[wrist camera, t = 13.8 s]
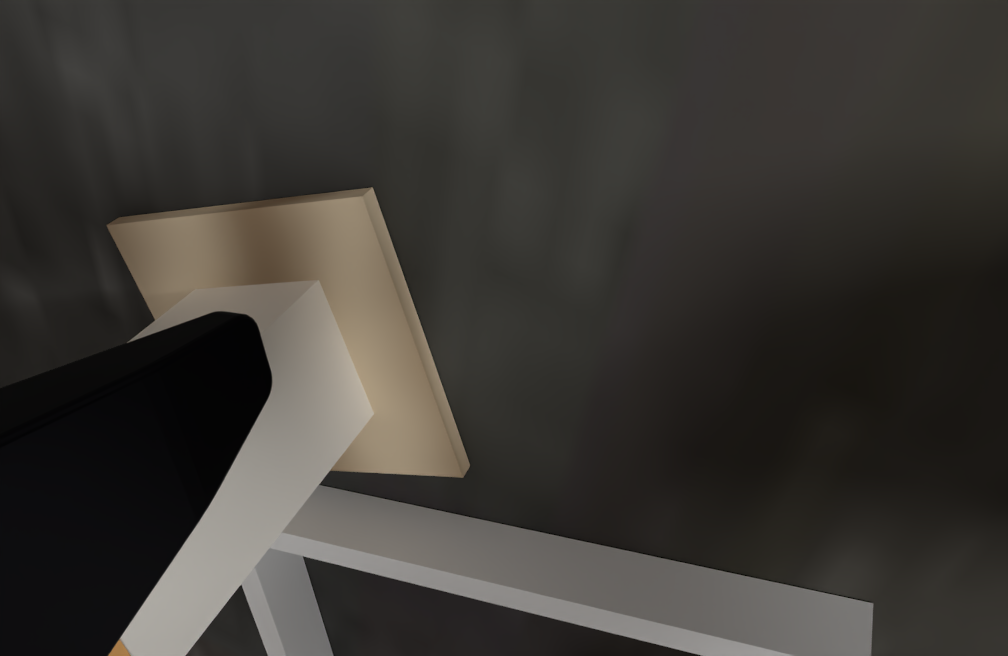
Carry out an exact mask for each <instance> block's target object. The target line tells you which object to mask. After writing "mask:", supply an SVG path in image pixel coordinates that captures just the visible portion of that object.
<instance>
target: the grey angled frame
mask: <svg viewBox="0 0 1008 656" xmlns="http://www.w3.org/2000/svg"><path fill="white" fill-rule="evenodd" d="M303 556H304V557H308V558H312V559H316V560H320V561H324V562H328V563H332V564H336V565H341V566H345V567H349V568H353V569H357V570H361V571H365V572H369V573H373V574H377V575H381V576H385V577H389V578H393V579H397V580H401V581H405V582H409V583H413V584H417V585H421V586H425V587H429V588H433V589H437V590H441V591H445V592H449V593H453V594H457V595H461V596H465V597H469V598H473V599H477V600H481V601H485V602H489V603H493V604H497V605H501V606H505V607H509V608H513V609H517V610H521V611H525V612H529V613H533V614H537V615H541V616H545V617H549V618H553V619H557V620H561V621H565V622H569V623H573V624H577V625H581V626H585V627H589V628H593V629H597V630H601V631H605V632H609V633H613V634H617V635H621V636H625V637H630V638H634V639H638V640H642V641H646V642H650V643H654V644H658V645H662V646H666V647H670V648H674V649H678V650H682V651H686V652H690V653H694V654H698V655H702V656H871V642H872V620H873V603H869V602H865V601H860V600H855V599H851V598H846V597H841V596H837V595H832V594H827V593H823V592H818V591H813V590H809V589H804V588H799V587H795V586H790V585H785V584H781V583H776V582H771V581H767V580H762V579H757V578H752V577H748V576H743V575H738V574H734V573H729V572H724V571H720V570H715V569H710V568H706V567H701V566H696V565H692V564H687V563H682V562H678V561H673V560H668V559H664V558H659V557H654V556H650V555H645V554H640V553H636V552H631V551H626V550H621V549H617V548H612V547H607V546H603V545H598V544H593V543H589V542H584V541H579V540H575V539H570V538H565V537H561V536H556V535H551V534H547V533H542V532H537V531H533V530H528V529H523V528H519V527H514V526H509V525H505V524H500V523H495V522H491V521H486V520H481V519H476V518H472V517H467V516H462V515H458V514H453V513H448V512H444V511H439V510H434V509H430V508H425V507H420V506H416V505H411V504H406V503H402V502H397V501H392V500H388V499H383V498H378V497H374V496H369V495H364V494H360V493H355V492H350V491H345V490H341V489H336V488H331V487H327V486H322V485H318V486H317V488H316V489H315V490H314V492H313V493H312V494H311V495H310V497H309V498H308V499H307V500H306V502H305V503H304V504H303V506H302V507H301V508H300V509H299V511H298V512H297V513H296V515H295V516H294V517H293V518H292V520H291V521H290V522H289V524H288V525H287V526H286V527H285V529H284V530H283V531H282V532H281V534H280V535H279V536H278V538H277V539H276V540H275V541H274V543H273V544H272V545H271V547H270V548H269V549H268V550H267V552H266V553H265V554H264V556H263V557H262V558H261V559H260V561H259V562H258V563H257V564H256V566H255V567H254V568H253V570H252V571H251V572H250V573H249V575H248V576H247V577H246V579H245V580H244V581H243V582H242V584H241V585H242V587H243V590H244V593H245V595H246V598H247V601H248V604H249V606H250V609H251V612H252V614H253V617H254V620H255V622H256V625H257V628H258V630H259V633H260V636H261V638H262V641H263V644H264V646H265V649H266V652H267V655H268V656H333V653H332V649H331V646H330V643H329V640H328V636H327V633H326V630H325V627H324V623H323V620H322V617H321V614H320V611H319V607H318V604H317V601H316V598H315V594H314V591H313V588H312V585H311V581H310V578H309V575H308V572H307V569H306V565H305V562H304V559H303Z"/></svg>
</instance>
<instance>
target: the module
mask: <svg viewBox="0 0 1008 656" xmlns="http://www.w3.org/2000/svg"><path fill="white" fill-rule="evenodd" d="M215 311H226V312H233V313H241V314H246V315H248V316H250V317H252V318H253V319H254V321H255V322H256V323H257V325H258V328H259V331H260V334H261V338H262V341H263V345H264V348H265V351H266V355H267V358H268V362H269V365H270V369H271V372H272V389H271V393H270V396H269V398H268V400H267V402H266V404H265V405H264V407H263V409H262V411H261V413H260V415H259V416H258V418H257V420H256V422H255V424H254V426H253V428H252V429H251V431H250V433H249V435H248V437H247V439H246V440H245V442H244V444H243V446H242V448H241V450H240V451H239V453H238V455H237V457H236V459H235V461H234V462H233V464H232V466H231V468H230V470H229V472H228V474H227V475H226V477H225V479H224V481H223V483H222V485H221V486H220V488H219V490H218V492H217V493H216V495H215V497H214V499H213V500H212V502H211V504H210V506H209V507H208V509H207V510H206V512H205V513H204V515H203V516H202V518H201V520H200V521H199V523H198V524H197V526H196V527H195V529H194V530H193V532H192V533H191V534H190V536H189V537H188V539H187V540H186V542H185V543H184V545H183V546H182V548H181V549H180V551H179V552H178V554H177V555H176V557H175V558H174V560H173V561H172V562H171V564H170V565H169V567H168V568H167V570H166V571H165V573H164V574H163V576H162V577H161V579H160V580H159V582H158V583H157V585H156V586H155V588H154V589H153V590H152V592H151V593H150V595H149V596H148V598H147V599H146V601H145V602H144V604H143V605H142V607H141V608H140V610H139V611H138V613H137V614H136V616H135V617H134V618H133V620H132V621H131V623H130V624H129V626H128V627H127V629H126V630H125V632H124V633H123V635H122V636H121V638H120V639H119V641H118V642H117V644H116V645H115V646H114V648H113V649H112V651H111V652H110V654H109V655H108V656H185V655H186V654H187V653H188V651H189V650H190V649H191V648H192V646H193V645H194V644H195V643H196V641H197V640H198V639H199V637H200V636H201V635H202V634H203V632H204V631H205V630H206V628H207V627H208V626H209V625H210V623H211V622H212V621H213V619H214V618H215V617H216V616H217V614H218V613H219V612H220V611H221V609H222V608H223V607H224V605H225V604H226V603H227V602H228V600H229V599H230V598H231V596H232V595H233V594H234V593H235V591H236V590H237V589H238V587H239V586H240V585H241V584H242V582H243V581H244V580H245V579H246V577H247V576H248V575H249V573H250V572H251V571H252V570H253V568H254V567H255V566H256V564H257V563H258V562H259V561H260V559H261V558H262V557H263V556H264V554H265V553H266V552H267V550H268V549H269V548H270V547H271V545H272V544H273V543H274V541H275V540H276V539H277V538H278V536H279V535H280V534H281V532H282V531H283V530H284V529H285V527H286V526H287V525H288V524H289V522H290V521H291V520H292V518H293V517H294V516H295V515H296V513H297V512H298V511H299V509H300V508H301V507H302V506H303V504H304V503H305V502H306V500H307V499H308V498H309V497H310V495H311V494H312V493H313V492H314V490H315V489H316V488H317V486H318V485H319V484H320V483H321V481H322V480H323V479H324V477H325V476H326V475H327V474H328V472H329V471H330V470H331V469H332V467H333V466H334V465H335V463H336V462H337V461H338V460H339V458H340V457H341V456H342V454H343V453H344V452H345V451H346V449H347V448H348V447H349V445H350V444H351V443H352V442H353V440H354V439H355V438H356V437H357V435H358V434H359V433H360V431H361V430H362V429H363V428H364V426H365V425H366V424H367V422H368V421H369V420H370V419H371V417H372V416H373V415H374V412H373V410H372V408H371V405H370V403H369V400H368V398H367V395H366V393H365V391H364V388H363V386H362V383H361V381H360V378H359V376H358V374H357V371H356V369H355V366H354V364H353V362H352V359H351V357H350V354H349V352H348V349H347V347H346V345H345V342H344V340H343V337H342V335H341V332H340V330H339V328H338V325H337V323H336V320H335V318H334V315H333V313H332V311H331V308H330V306H329V303H328V301H327V299H326V296H325V294H324V291H323V289H322V286H321V284H320V282H319V280H310V281H296V282H283V283H270V284H257V285H244V286H230V287H217V288H204V289H195V290H193V291H192V292H191V293H190V294H188V295H187V296H186V297H185V298H183V299H182V300H181V301H179V302H178V303H177V304H176V305H174V306H173V307H172V308H171V309H169V310H168V311H167V312H165V313H164V314H163V315H162V316H160V317H159V318H158V319H157V320H155V321H154V322H153V323H151V324H150V325H149V326H148V327H146V328H145V329H144V330H143V331H141V332H140V333H139V334H137V335H136V336H135V337H134V338H132V339H131V340H130V341H129V342H131V341H134V340H136V339H139V338H142V337H145V336H147V335H150V334H153V333H156V332H159V331H161V330H164V329H167V328H170V327H173V326H175V325H178V324H181V323H184V322H186V321H189V320H192V319H195V318H198V317H200V316H203V315H206V314H209V313H212V312H215ZM127 343H128V342H127Z"/></svg>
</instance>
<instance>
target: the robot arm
mask: <svg viewBox="0 0 1008 656" xmlns="http://www.w3.org/2000/svg"><path fill="white" fill-rule="evenodd" d="M271 389H272V372H271V369H270V365H269V362H268V358H267V355H266V351H265V348H264V345H263V341H262V338H261V334H260V331H259V328H258V325H257V323H256V322H255V321H254V319H253V318H252V317H250V316H248V315H246V314H241V313H233V312H226V311H215V312H212V313H209V314H206V315H203V316H200V317H198V318H195V319H192V320H189V321H186V322H184V323H181V324H178V325H175V326H173V327H170V328H167V329H164V330H161V331H159V332H156V333H153V334H150V335H147V336H145V337H142V338H139V339H136V340H134V341H131V342H128V343H125V344H122V345H120V346H117V347H114V348H111V349H108V350H106V351H103V352H100V353H97V354H95V355H92V356H89V357H86V358H83V359H81V360H78V361H75V362H72V363H69V364H67V365H64V366H61V367H58V368H55V369H53V370H50V371H47V372H44V373H42V374H39V375H36V376H33V377H30V378H28V379H25V380H22V381H19V382H16V383H14V384H11V385H8V386H5V387H3V388H0V656H108V655H109V654H110V652H111V651H112V649H113V648H114V646H115V645H116V644H117V642H118V641H119V639H120V638H121V636H122V635H123V633H124V632H125V630H126V629H127V627H128V626H129V624H130V623H131V621H132V620H133V618H134V617H135V616H136V614H137V613H138V611H139V610H140V608H141V607H142V605H143V604H144V602H145V601H146V599H147V598H148V596H149V595H150V593H151V592H152V590H153V589H154V588H155V586H156V585H157V583H158V582H159V580H160V579H161V577H162V576H163V574H164V573H165V571H166V570H167V568H168V567H169V565H170V564H171V562H172V561H173V560H174V558H175V557H176V555H177V554H178V552H179V551H180V549H181V548H182V546H183V545H184V543H185V542H186V540H187V539H188V537H189V536H190V534H191V533H192V532H193V530H194V529H195V527H196V526H197V524H198V523H199V521H200V520H201V518H202V516H203V515H204V513H205V512H206V510H207V509H208V507H209V506H210V504H211V502H212V500H213V499H214V497H215V495H216V493H217V492H218V490H219V488H220V486H221V485H222V483H223V481H224V479H225V477H226V475H227V474H228V472H229V470H230V468H231V466H232V464H233V462H234V461H235V459H236V457H237V455H238V453H239V451H240V450H241V448H242V446H243V444H244V442H245V440H246V439H247V437H248V435H249V433H250V431H251V429H252V428H253V426H254V424H255V422H256V420H257V418H258V416H259V415H260V413H261V411H262V409H263V407H264V405H265V404H266V402H267V400H268V398H269V396H270V393H271Z"/></svg>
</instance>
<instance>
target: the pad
mask: <svg viewBox="0 0 1008 656" xmlns="http://www.w3.org/2000/svg"><path fill="white" fill-rule="evenodd" d="M106 226H107V228H108V230H109V231H110V233H111V235H112V237H113V239H114V241H115V243H116V245H117V247H118V249H119V251H120V253H121V255H122V257H123V259H124V261H125V262H126V264H127V266H128V268H129V270H130V272H131V274H132V276H133V278H134V280H135V282H136V284H137V286H138V288H139V290H140V292H141V294H142V295H143V297H144V299H145V301H146V303H147V305H148V307H149V309H150V311H151V313H152V315H153V317H154V319H155V320H157V319H158V318H159V317H160V316H162V315H163V314H164V313H165V312H167V311H168V310H169V309H171V308H172V307H173V306H174V305H176V304H177V303H178V302H179V301H181V300H182V299H183V298H185V297H186V296H187V295H188V294H190V293H191V292H192V291H193V290H195V289H204V288H217V287H230V286H244V285H257V284H270V283H283V282H296V281H310V280H319V282H320V284H321V286H322V289H323V291H324V294H325V296H326V299H327V301H328V303H329V306H330V308H331V311H332V313H333V315H334V318H335V320H336V323H337V325H338V328H339V330H340V332H341V335H342V337H343V340H344V342H345V345H346V347H347V349H348V352H349V354H350V357H351V359H352V362H353V364H354V366H355V369H356V371H357V374H358V376H359V378H360V381H361V383H362V386H363V388H364V391H365V393H366V395H367V398H368V400H369V403H370V405H371V408H372V410H373V412H374V415H373V416H372V417H371V419H370V420H369V421H368V422H367V424H366V425H365V426H364V428H363V429H362V430H361V431H360V433H359V434H358V435H357V437H356V438H355V439H354V440H353V442H352V443H351V444H350V445H349V447H348V448H347V449H346V451H345V452H344V453H343V454H342V456H341V457H340V458H339V460H338V461H337V462H336V463H335V465H334V466H333V467H332V469H331V471H350V472H369V473H387V474H406V475H425V476H443V477H462V478H463V477H464V475H465V474H466V472H467V470H468V469H469V467H470V463H469V461H468V458H467V455H466V452H465V449H464V446H463V443H462V441H461V438H460V435H459V432H458V429H457V426H456V423H455V421H454V418H453V415H452V412H451V409H450V406H449V404H448V401H447V398H446V395H445V392H444V389H443V386H442V384H441V381H440V378H439V375H438V372H437V369H436V366H435V364H434V361H433V358H432V355H431V352H430V349H429V346H428V344H427V341H426V338H425V335H424V332H423V329H422V327H421V324H420V321H419V318H418V315H417V312H416V309H415V307H414V304H413V301H412V298H411V295H410V292H409V289H408V287H407V284H406V281H405V278H404V275H403V272H402V270H401V267H400V264H399V261H398V258H397V255H396V252H395V250H394V247H393V244H392V241H391V238H390V235H389V232H388V230H387V227H386V224H385V221H384V218H383V215H382V212H381V210H380V207H379V204H378V201H377V198H376V195H375V193H374V190H373V187H371V188H363V189H354V190H346V191H337V192H329V193H321V194H312V195H304V196H295V197H287V198H278V199H270V200H261V201H253V202H244V203H236V204H228V205H219V206H211V207H202V208H194V209H185V210H177V211H168V212H160V213H151V214H143V215H135V216H126V217H119V218H117V219H116V220H114V221H113V222H111V223H109V224H108V225H106Z"/></svg>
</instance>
